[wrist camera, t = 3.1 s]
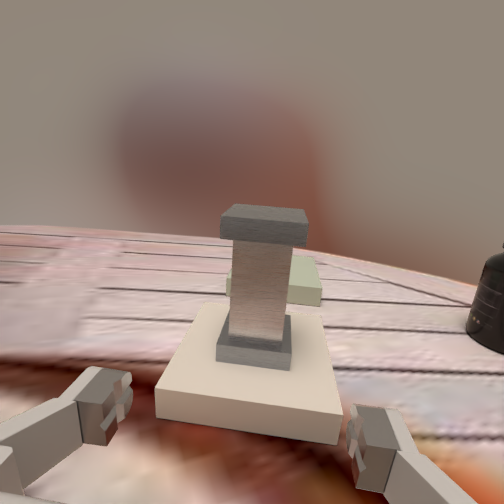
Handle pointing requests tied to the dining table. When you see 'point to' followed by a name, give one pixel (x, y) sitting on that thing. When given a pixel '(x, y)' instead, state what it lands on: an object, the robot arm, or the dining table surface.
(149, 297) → the dining table surface
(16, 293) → the dining table surface
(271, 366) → the post
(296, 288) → the stand
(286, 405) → the stand
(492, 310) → the supplement bottle
